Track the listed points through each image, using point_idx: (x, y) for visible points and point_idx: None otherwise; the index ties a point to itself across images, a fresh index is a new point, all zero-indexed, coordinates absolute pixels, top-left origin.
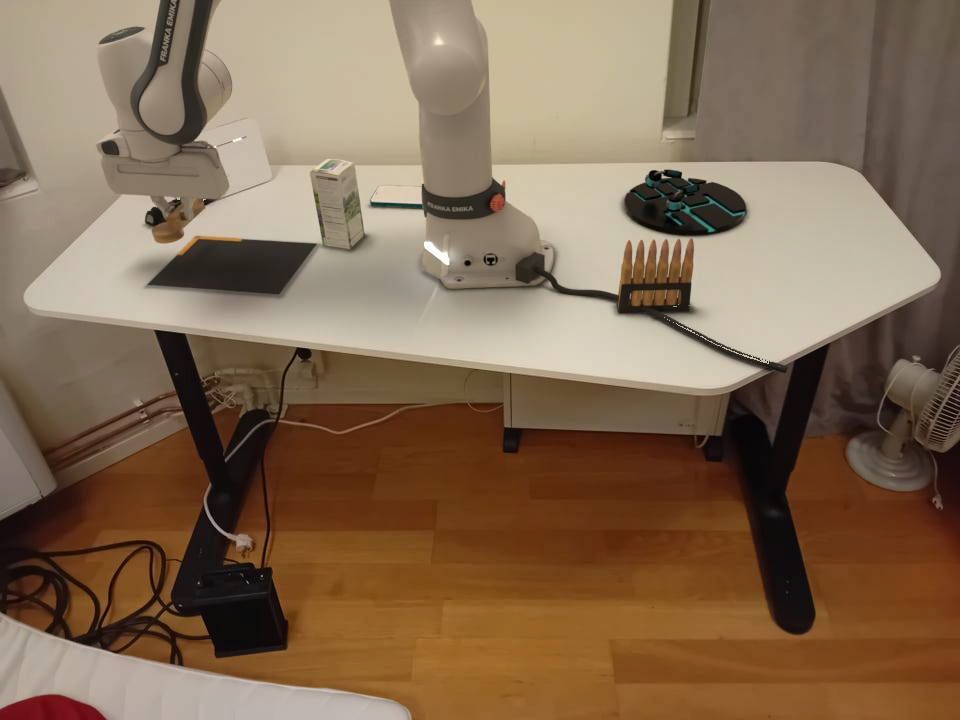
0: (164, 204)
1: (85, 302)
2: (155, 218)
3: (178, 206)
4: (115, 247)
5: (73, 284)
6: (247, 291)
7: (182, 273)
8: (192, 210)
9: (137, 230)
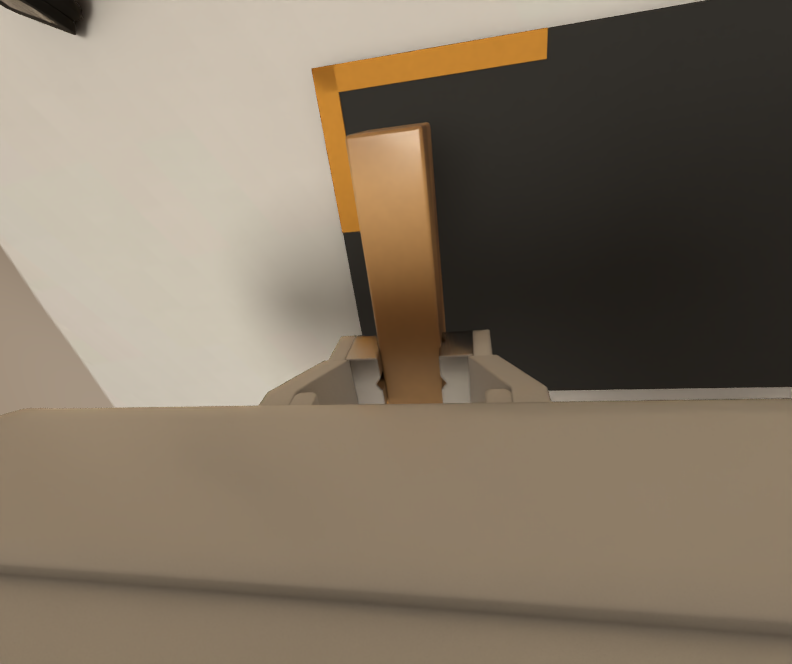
0: (336, 399)
1: None
2: (46, 5)
3: (378, 324)
4: (98, 217)
5: (186, 403)
6: (710, 386)
7: None
8: (491, 346)
9: (41, 75)
